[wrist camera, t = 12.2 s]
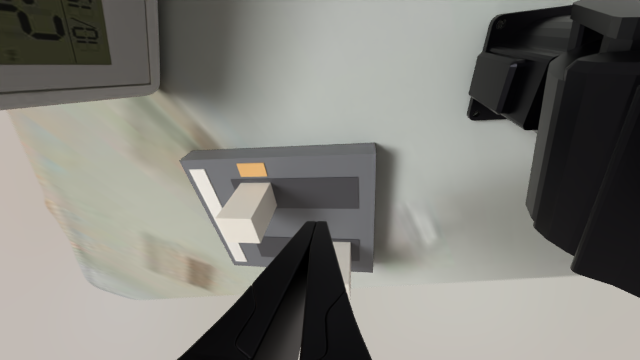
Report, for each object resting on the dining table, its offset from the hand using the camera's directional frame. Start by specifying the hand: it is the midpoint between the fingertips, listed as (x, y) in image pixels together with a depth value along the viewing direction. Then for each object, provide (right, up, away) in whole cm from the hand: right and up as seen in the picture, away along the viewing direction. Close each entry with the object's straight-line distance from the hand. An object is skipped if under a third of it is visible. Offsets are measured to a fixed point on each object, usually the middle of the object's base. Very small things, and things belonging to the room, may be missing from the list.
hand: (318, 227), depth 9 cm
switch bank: (-3, -2, +16) cm, 17 cm away
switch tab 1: (-6, +1, +13) cm, 14 cm away
